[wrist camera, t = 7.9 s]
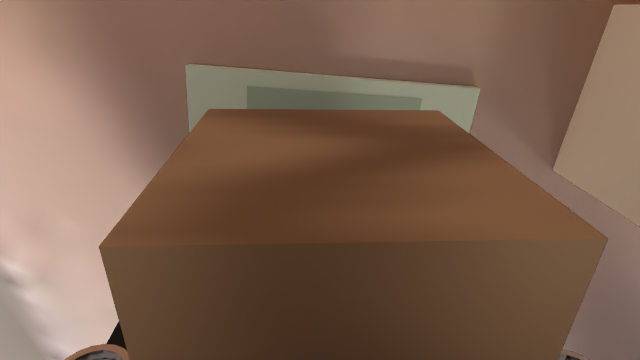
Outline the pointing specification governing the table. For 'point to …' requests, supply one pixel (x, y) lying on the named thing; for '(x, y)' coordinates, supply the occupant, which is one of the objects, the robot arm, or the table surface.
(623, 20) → the cream brick
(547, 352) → the walnut brick
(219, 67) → the mat
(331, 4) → the table surface
